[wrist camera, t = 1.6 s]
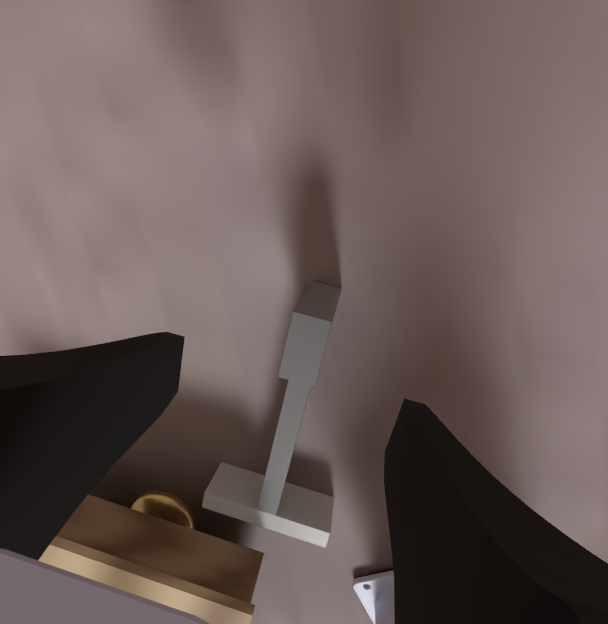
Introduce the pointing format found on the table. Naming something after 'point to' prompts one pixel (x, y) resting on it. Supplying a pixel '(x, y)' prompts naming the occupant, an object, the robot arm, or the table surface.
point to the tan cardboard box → (158, 561)
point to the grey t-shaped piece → (285, 437)
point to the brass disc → (165, 508)
